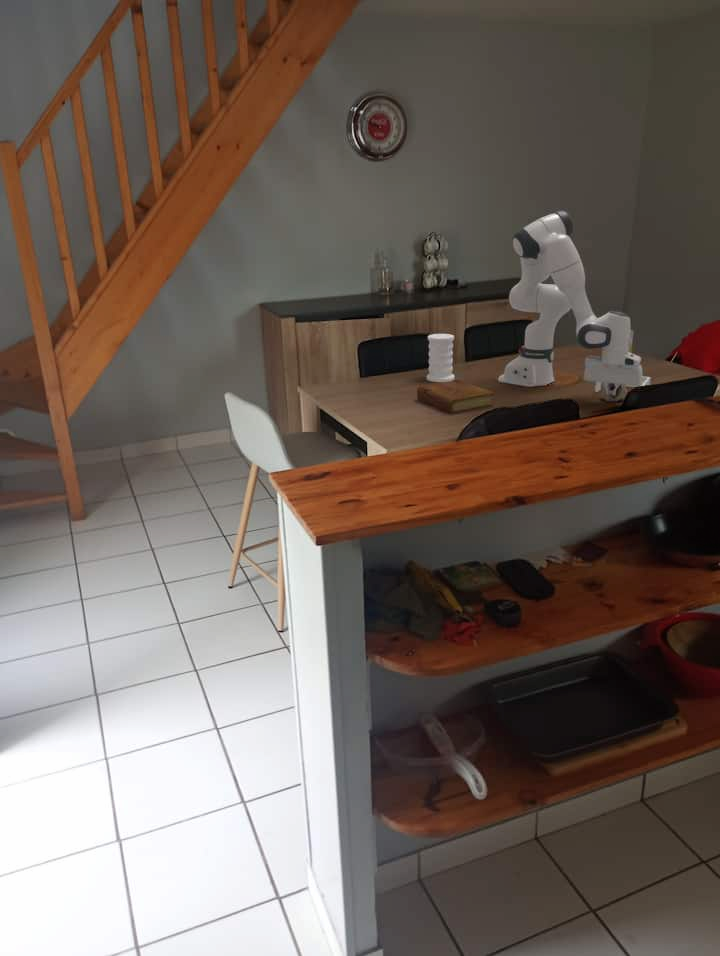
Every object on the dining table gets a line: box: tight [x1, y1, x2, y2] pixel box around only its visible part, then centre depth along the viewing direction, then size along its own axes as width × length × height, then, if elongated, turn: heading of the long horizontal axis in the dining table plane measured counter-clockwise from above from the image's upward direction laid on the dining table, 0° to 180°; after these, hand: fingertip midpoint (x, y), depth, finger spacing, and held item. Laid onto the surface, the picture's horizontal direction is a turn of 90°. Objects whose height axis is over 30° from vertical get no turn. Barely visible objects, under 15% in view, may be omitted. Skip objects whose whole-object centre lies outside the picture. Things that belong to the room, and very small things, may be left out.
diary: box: [416, 379, 495, 415], centre depth 278 cm, size 23×19×6 cm
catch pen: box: [594, 375, 652, 393], centre depth 287 cm, size 18×14×4 cm
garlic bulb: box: [600, 382, 628, 403], centre depth 275 cm, size 9×8×10 cm
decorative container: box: [426, 333, 455, 383], centre depth 310 cm, size 12×12×18 cm
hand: (610, 394), depth 271 cm, fingers closed
